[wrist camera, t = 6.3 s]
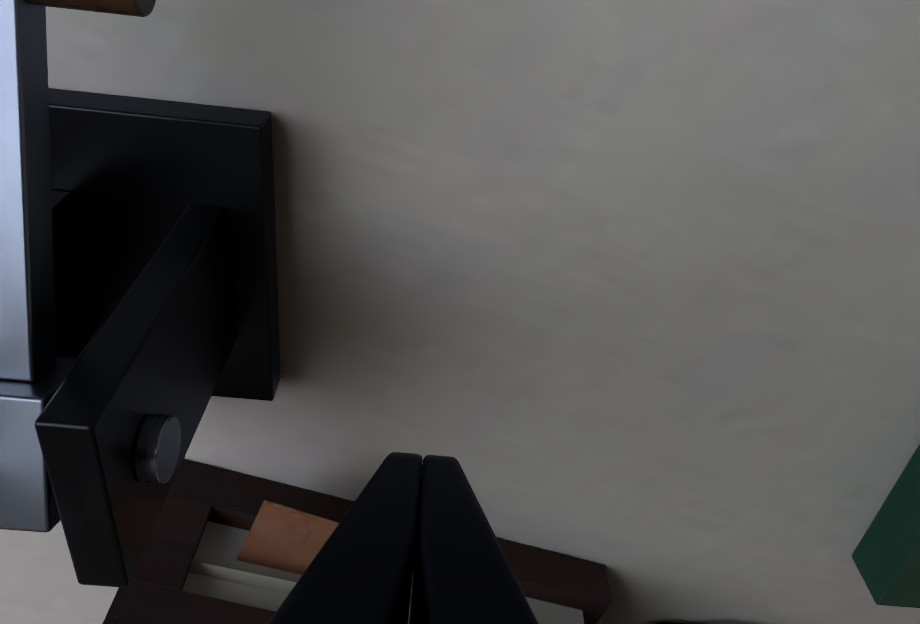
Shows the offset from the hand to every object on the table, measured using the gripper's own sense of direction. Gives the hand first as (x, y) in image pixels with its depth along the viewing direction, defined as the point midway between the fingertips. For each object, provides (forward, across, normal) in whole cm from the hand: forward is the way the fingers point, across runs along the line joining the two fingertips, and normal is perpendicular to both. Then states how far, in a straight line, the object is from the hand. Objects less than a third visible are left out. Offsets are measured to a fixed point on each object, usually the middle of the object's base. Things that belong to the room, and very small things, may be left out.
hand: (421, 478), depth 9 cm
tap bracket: (+12, +8, +4) cm, 16 cm away
